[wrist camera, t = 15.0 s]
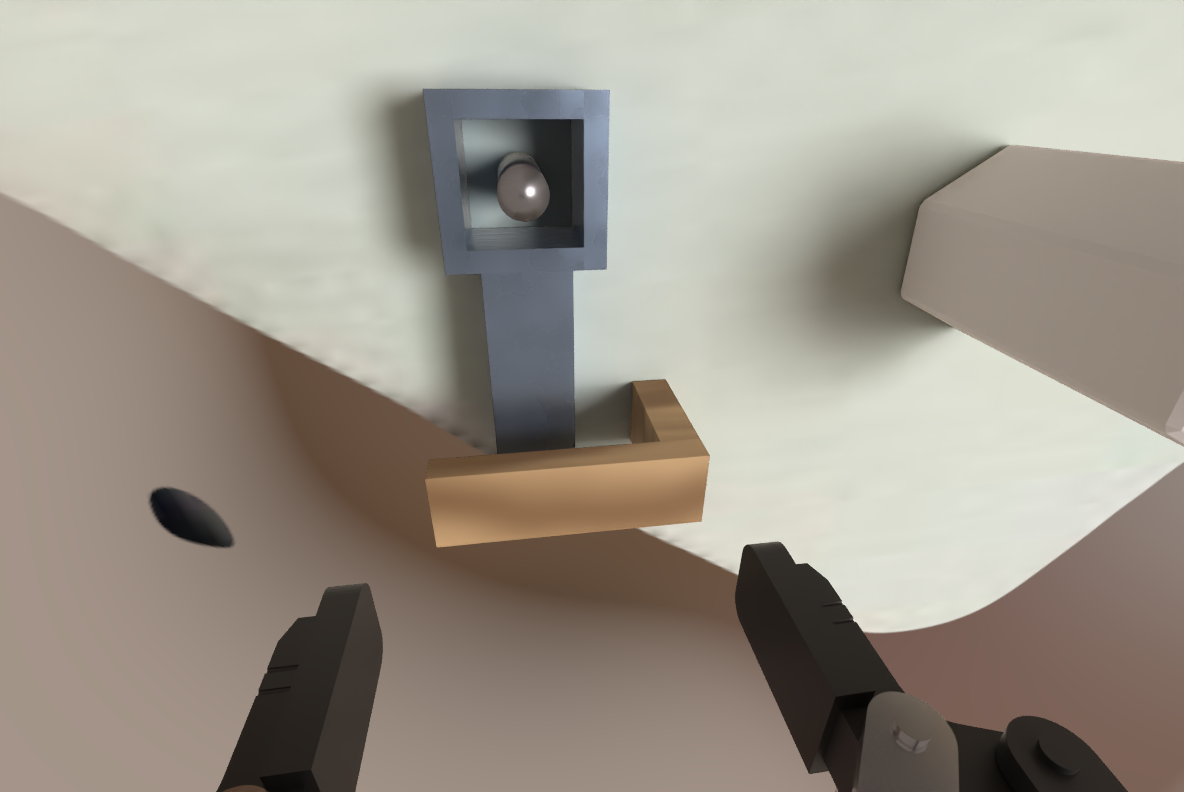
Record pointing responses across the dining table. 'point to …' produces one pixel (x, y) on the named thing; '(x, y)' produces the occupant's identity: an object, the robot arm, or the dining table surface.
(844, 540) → the dining table surface
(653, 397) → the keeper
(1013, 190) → the soap bottle
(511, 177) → the cylinder
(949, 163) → the dining table surface
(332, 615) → the robot arm
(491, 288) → the link
